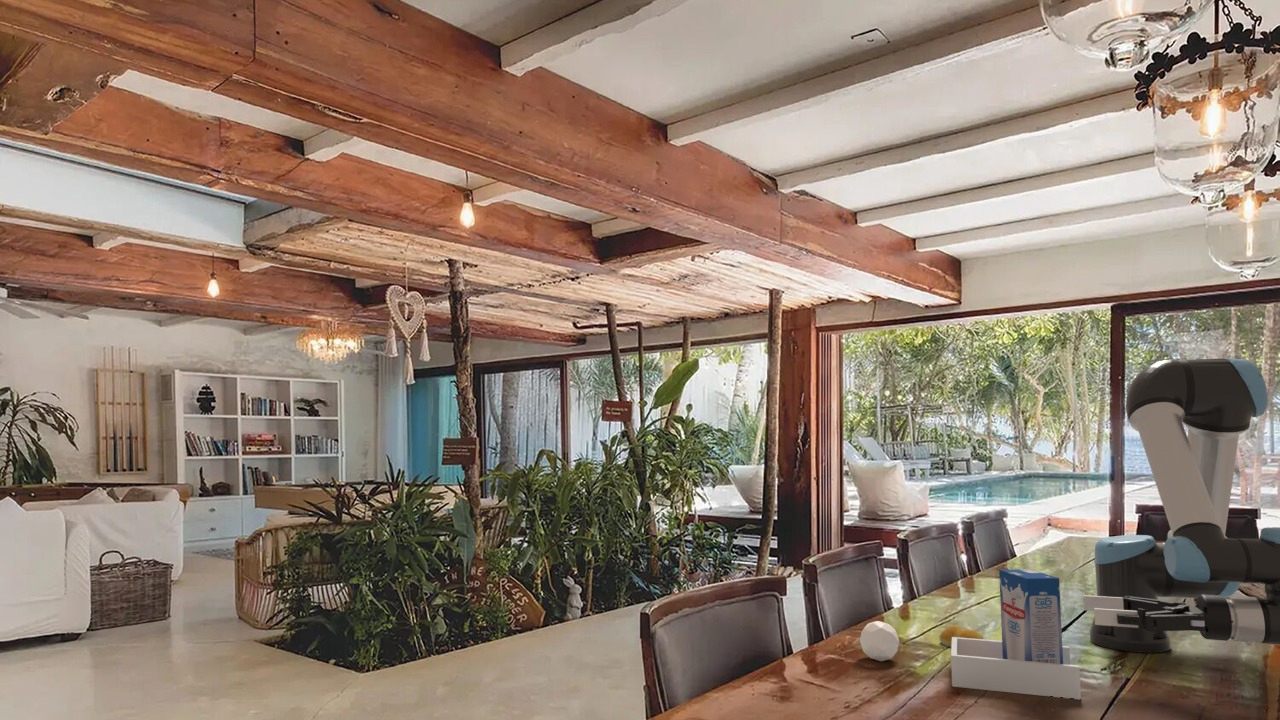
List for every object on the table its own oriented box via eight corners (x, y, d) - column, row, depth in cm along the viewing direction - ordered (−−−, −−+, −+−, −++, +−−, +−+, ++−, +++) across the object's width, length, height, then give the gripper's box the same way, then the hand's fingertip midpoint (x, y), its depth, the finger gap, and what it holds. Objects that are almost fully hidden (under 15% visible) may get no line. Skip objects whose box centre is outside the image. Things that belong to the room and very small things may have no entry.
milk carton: (1003, 675, 157) (998, 569, 159) (1034, 675, 158) (1029, 569, 160) (1031, 692, 147) (1026, 578, 149) (1064, 691, 148) (1059, 578, 150)
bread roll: (973, 653, 174) (972, 633, 175) (934, 645, 181) (934, 626, 182) (992, 646, 180) (991, 627, 180) (953, 638, 187) (953, 620, 187)
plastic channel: (1070, 676, 157) (1068, 646, 157) (1080, 699, 143) (1079, 667, 144) (952, 664, 165) (951, 636, 165) (952, 686, 151) (950, 655, 151)
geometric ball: (886, 676, 166) (890, 650, 162) (851, 655, 171) (853, 630, 167) (904, 651, 171) (908, 625, 167) (869, 632, 176) (872, 606, 172)
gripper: (1252, 657, 130) (1101, 645, 138) (1208, 626, 153) (1081, 617, 161) (1249, 609, 131) (1098, 599, 139) (1206, 584, 154) (1078, 578, 162)
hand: (1088, 609), depth 150 cm, fingers open, 13 cm apart
